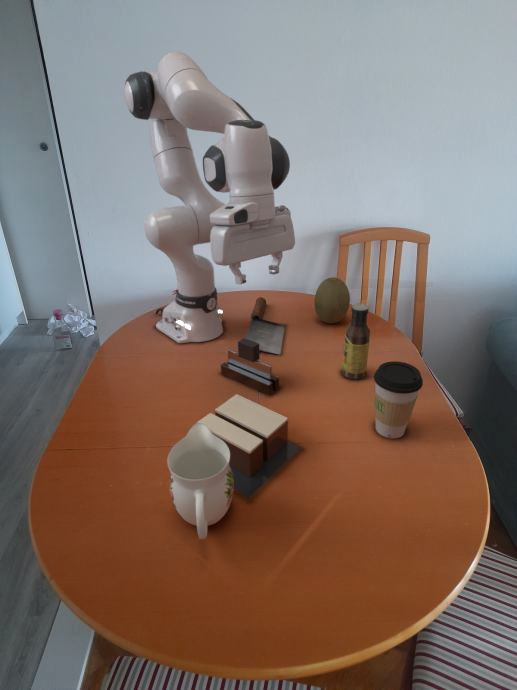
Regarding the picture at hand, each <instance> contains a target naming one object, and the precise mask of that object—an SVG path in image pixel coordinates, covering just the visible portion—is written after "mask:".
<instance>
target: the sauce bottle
mask: <svg viewBox="0 0 517 690" xmlns="http://www.w3.org/2000/svg"><path fill="white" fill-rule="evenodd" d="M368 314H369V305H367V304H365V303H361V302H360V303H354V304H352V305H351V317H350V318H351V319H350V323H349V325H347V327H346V329H345V331H344V338H343V339H344V340H343V351H342V362H341V371H342V375H343V376H344V377H346V378H348V379H349V380H361V379H363V378H364V377H365V375H366V370H367V366H368V365H367V364H368V357H369V350H370V349H369V348H370V336H371V330H370V328H369V326H368V324H367V322H368V321H367V319H368Z"/></svg>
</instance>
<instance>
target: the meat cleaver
mask: <svg viewBox="0 0 517 690" xmlns="http://www.w3.org/2000/svg"><path fill="white" fill-rule="evenodd" d="M266 305H267V300H266V299H265V298H264V297H262V296H259V297H258V298H256V300H255V304H254V307H253V310H252V313H251V314H250V318H251V321H250V324H249V326H248V329H247V333H246V335H245V337H244V338H245V339H248V340H251V341H253V342H256V343H259V352H264V353H270V354H274V355H281V352H282V347H283V339H284V334H285V329H286V325H285V324H281V323H278V322H274V321H270V320H266V319H263V315H264V312H265V308H266Z"/></svg>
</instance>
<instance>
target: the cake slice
mask: <svg viewBox="0 0 517 690" xmlns="http://www.w3.org/2000/svg"><path fill="white" fill-rule="evenodd" d="M196 423H203V424H205V425H206V426H207V427H208V428H209V430H210V431H211V433H212V434H213V435H215V436H216V437H218V438H220V439H221V440H223V441H224V442H225V443H226V445H227V446H228V448H229V450H230V462H229V465H231V466H232V467H234V468H236V469H238V470H239V471H241V472H243V473H244V474H246V475H248V476H249V477H251V476H252V475H253V474H255V473H256V472H257V471H258V470H259V469H260V468H261V467H262V466H263V440H262V439H260V438H258V437H256V436H254V435H252V434H250V433H248V432H246V431H244V430H242V429H240V428H239V427H237V426H235V425H233V424H231V423H229V422H227V421H225V420H223V419H221V418H219V417H217V416H216V415H215V413H214V414H213V413H212V412H209V413H208V414H206V415H205V416H203V417H201V419H199V420H198V421H196Z"/></svg>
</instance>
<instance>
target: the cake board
mask: <svg viewBox="0 0 517 690" xmlns="http://www.w3.org/2000/svg"><path fill="white" fill-rule="evenodd" d="M214 415H216V416H217V417H219V418H221V419H223V420H225V421H227V422H229V423H231V424H233V425H235V426H237V427H239V428H240V429H242V430H244V431H246V432H248V433H250V434H252V435H254V436H256V437H258V438H260V439H262V440H263V466H262V467H261V468H260V469H259V470H258V471H257V472H256V473H255V474H253V475H252V476H251V477H249V476H248V475H246V474H244V473H243V472H241V471H239V470H238V469H236V468H234V467H232V466H231V465H230V467H231V469H232V473H233V478H234V490H235V491H236V492H238V493H240V494H242V495H243V496H244V497H246V498H248V499H250V498H252V496H253V495H254V494H255V493H256V492H257V491H258V490H259V489H260V488H261V487H262V486H263V485H264V484H265V483H266V482H267V481H268V480H269V479H271V478H272V476H273V475H274V474H276V473H277V472H278V471H279V470H280V469H281V468H282V467H283V466H284V465H285V464H286V463H287V462H288V461H289V460H290V459H291V458H292V457H293V456H295V454H296V453H297V452H298V451H299V450H300V449H301V446H299V445H297V444H295V443H292V442H290V441H289V440H288V436H289V417H287V416H284V415H282V414H280V413H278V412H276V411H273V410H272V409H270V408H268V407H265V406H264V405H261V404H259V403H257V402H254V401H253V400H250V399H248V398H245V397H244V396H241V395H240V394H237V393H236V394H234V395H233V396H232V397H230V398H229V399H227V400H225V402H223V403H221V404H220V405H219V406H217V407H216V408H215V409H214Z"/></svg>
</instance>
